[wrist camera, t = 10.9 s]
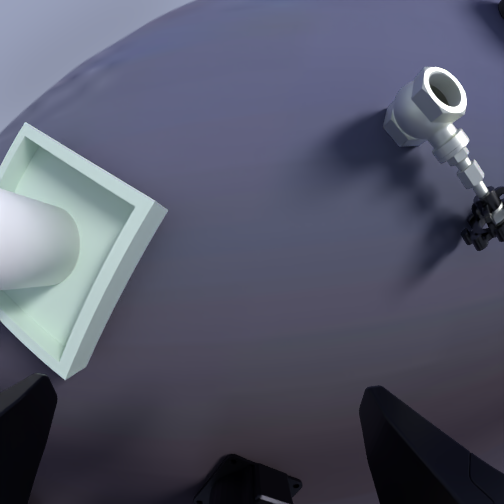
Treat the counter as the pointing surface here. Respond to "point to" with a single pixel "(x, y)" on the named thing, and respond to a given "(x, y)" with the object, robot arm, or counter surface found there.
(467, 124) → the counter surface
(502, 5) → the pen holder
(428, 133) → the valve
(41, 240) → the bottle
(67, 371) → the shallow mint tray
